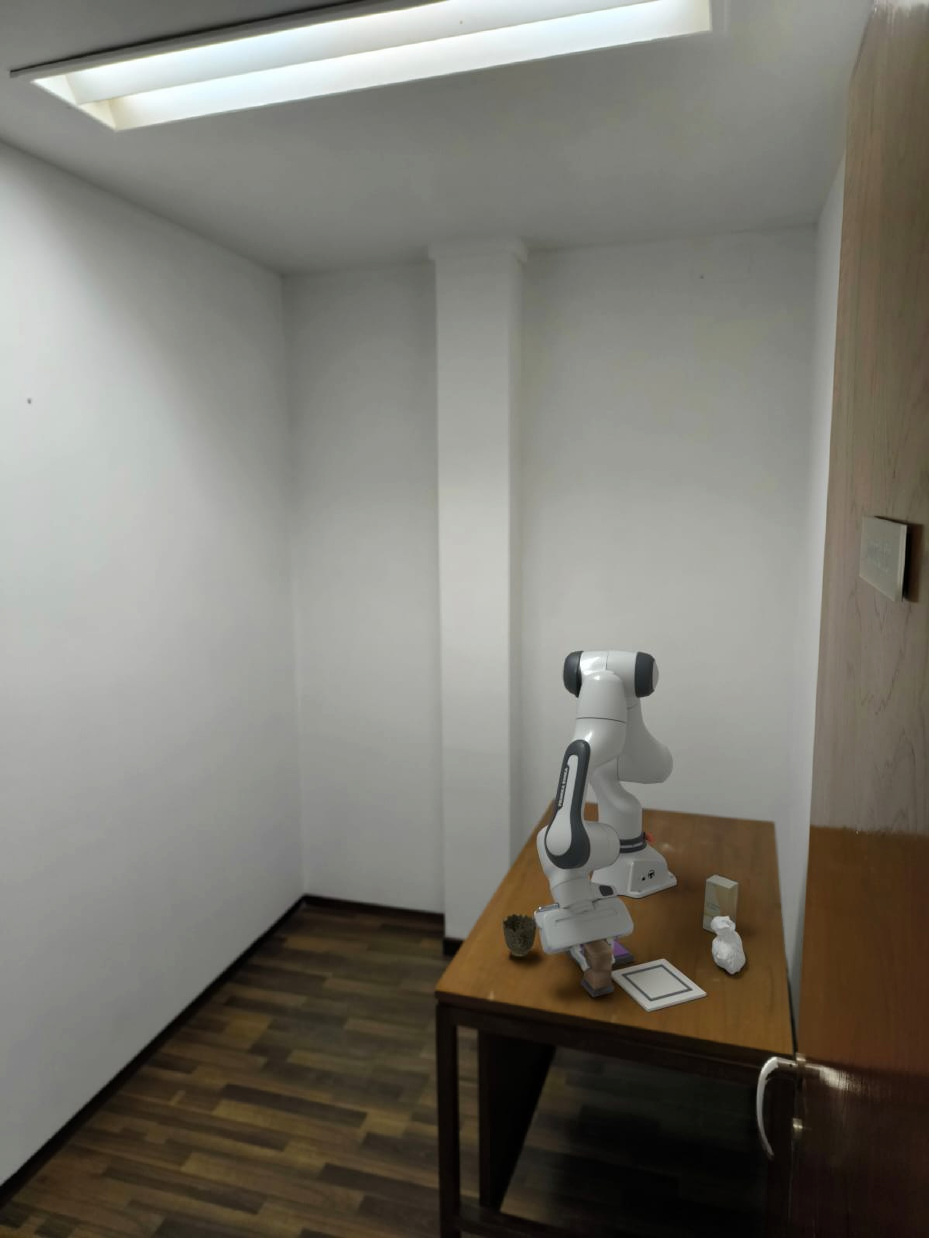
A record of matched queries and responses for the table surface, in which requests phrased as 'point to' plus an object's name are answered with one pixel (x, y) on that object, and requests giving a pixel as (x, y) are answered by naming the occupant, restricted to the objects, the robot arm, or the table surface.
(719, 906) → the skincare box
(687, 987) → the print card
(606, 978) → the stamp
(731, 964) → the bust
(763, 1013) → the table surface
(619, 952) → the ink pad
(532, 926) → the cup
